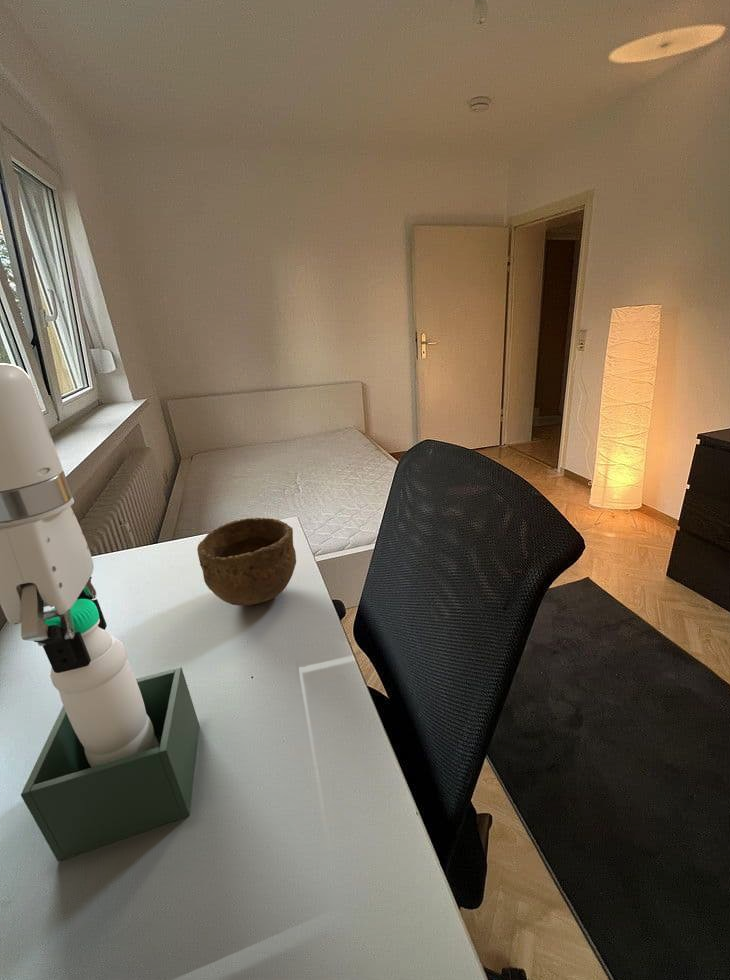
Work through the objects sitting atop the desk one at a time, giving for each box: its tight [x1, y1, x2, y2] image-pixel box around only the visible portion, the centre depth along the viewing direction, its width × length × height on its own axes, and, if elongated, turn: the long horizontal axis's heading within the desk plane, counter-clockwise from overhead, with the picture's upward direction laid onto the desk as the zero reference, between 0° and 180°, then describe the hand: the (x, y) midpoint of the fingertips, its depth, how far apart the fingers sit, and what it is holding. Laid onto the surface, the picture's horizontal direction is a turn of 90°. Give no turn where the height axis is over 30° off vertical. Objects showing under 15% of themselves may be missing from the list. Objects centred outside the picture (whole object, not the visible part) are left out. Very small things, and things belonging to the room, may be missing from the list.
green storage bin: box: [20, 666, 200, 862], centre depth 55 cm, size 14×14×11 cm
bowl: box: [196, 517, 297, 606], centre depth 92 cm, size 19×19×15 cm
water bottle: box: [45, 599, 160, 767], centre depth 52 cm, size 7×7×25 cm
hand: (82, 647), depth 49 cm, fingers closed on water bottle, 5 cm apart
